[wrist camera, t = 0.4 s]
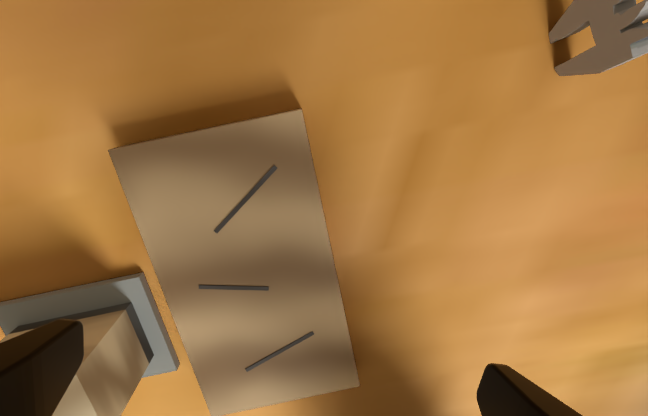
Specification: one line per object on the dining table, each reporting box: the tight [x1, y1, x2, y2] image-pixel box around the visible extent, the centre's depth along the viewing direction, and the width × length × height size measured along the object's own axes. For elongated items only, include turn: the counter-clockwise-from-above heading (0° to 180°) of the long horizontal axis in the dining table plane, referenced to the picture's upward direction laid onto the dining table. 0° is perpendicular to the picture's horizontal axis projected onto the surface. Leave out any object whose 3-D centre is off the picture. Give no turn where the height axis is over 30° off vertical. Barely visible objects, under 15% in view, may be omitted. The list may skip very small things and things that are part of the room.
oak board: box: [108, 108, 360, 416], centre depth 22 cm, size 18×10×2 cm, turn 11°
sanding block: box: [0, 302, 154, 416], centre depth 20 cm, size 4×7×6 cm, turn 101°
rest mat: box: [0, 272, 180, 378], centre depth 23 cm, size 7×9×1 cm
